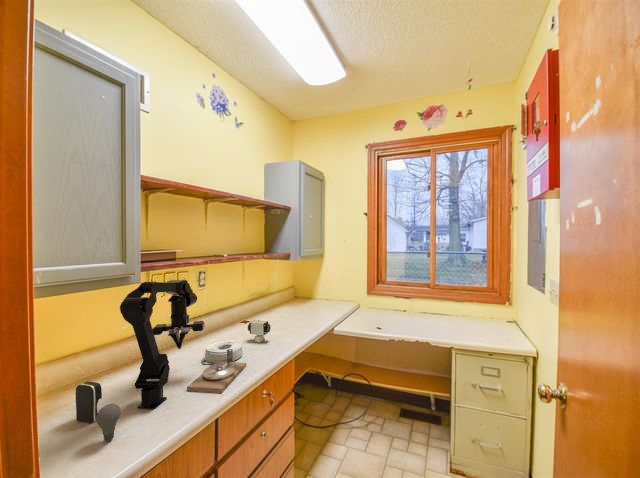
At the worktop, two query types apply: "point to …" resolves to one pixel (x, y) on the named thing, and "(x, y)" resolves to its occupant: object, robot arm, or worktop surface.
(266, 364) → the worktop surface
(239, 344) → the cable
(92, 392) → the battery charger
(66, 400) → the worktop surface
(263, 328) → the pneumatic valve
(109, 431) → the light bulb
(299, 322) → the worktop surface
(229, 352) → the metal disc with handle
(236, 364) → the board
